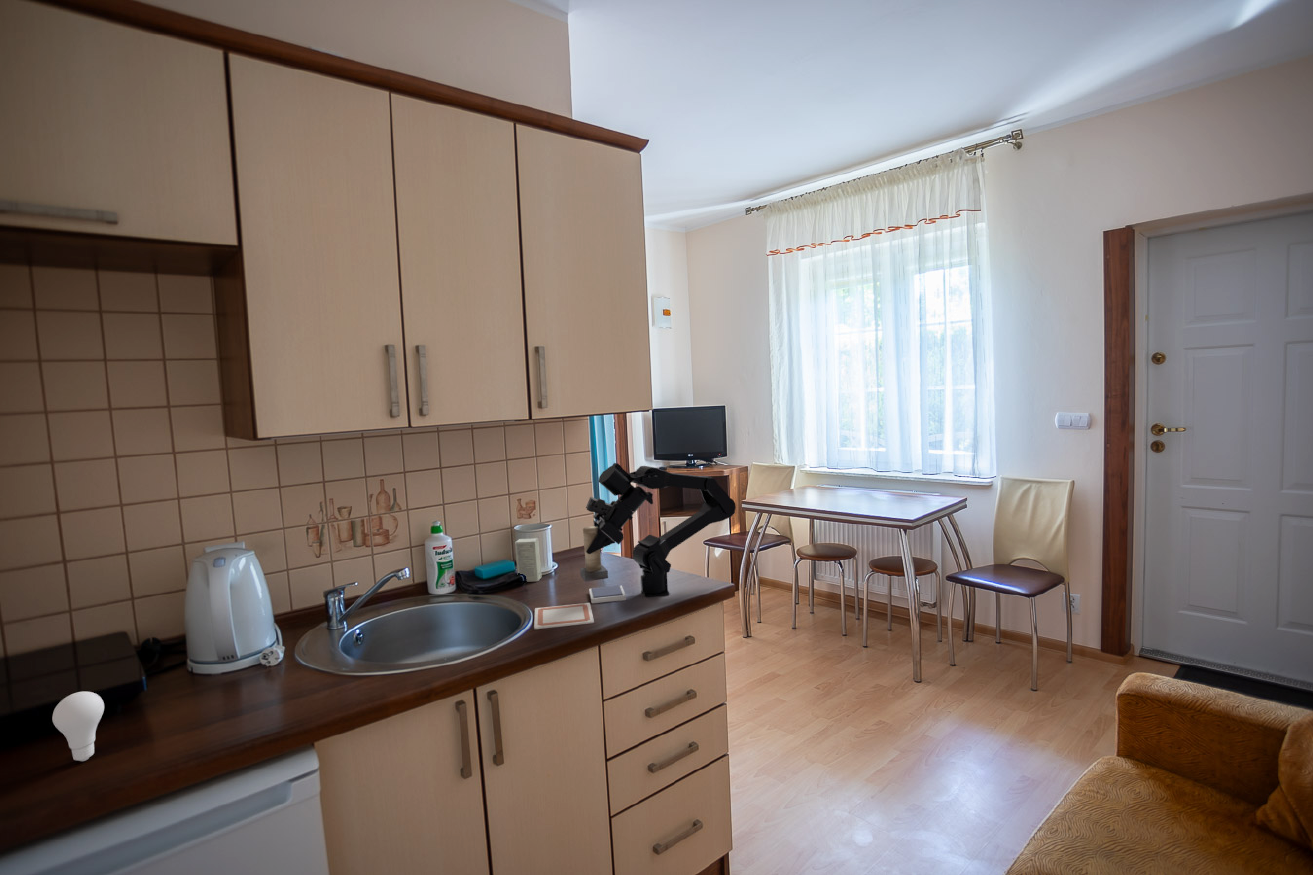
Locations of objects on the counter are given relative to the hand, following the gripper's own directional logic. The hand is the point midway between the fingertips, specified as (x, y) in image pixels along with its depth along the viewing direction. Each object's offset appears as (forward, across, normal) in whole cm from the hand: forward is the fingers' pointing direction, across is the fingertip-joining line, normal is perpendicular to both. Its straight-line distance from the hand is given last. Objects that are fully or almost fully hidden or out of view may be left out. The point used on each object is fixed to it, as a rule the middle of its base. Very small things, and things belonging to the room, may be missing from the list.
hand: (586, 551), depth 168 cm
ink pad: (+6, -3, +13) cm, 15 cm away
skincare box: (+20, -26, -1) cm, 34 cm away
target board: (+15, +9, +4) cm, 18 cm away
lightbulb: (+70, +50, -51) cm, 100 cm away
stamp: (+4, 0, +6) cm, 7 cm away
